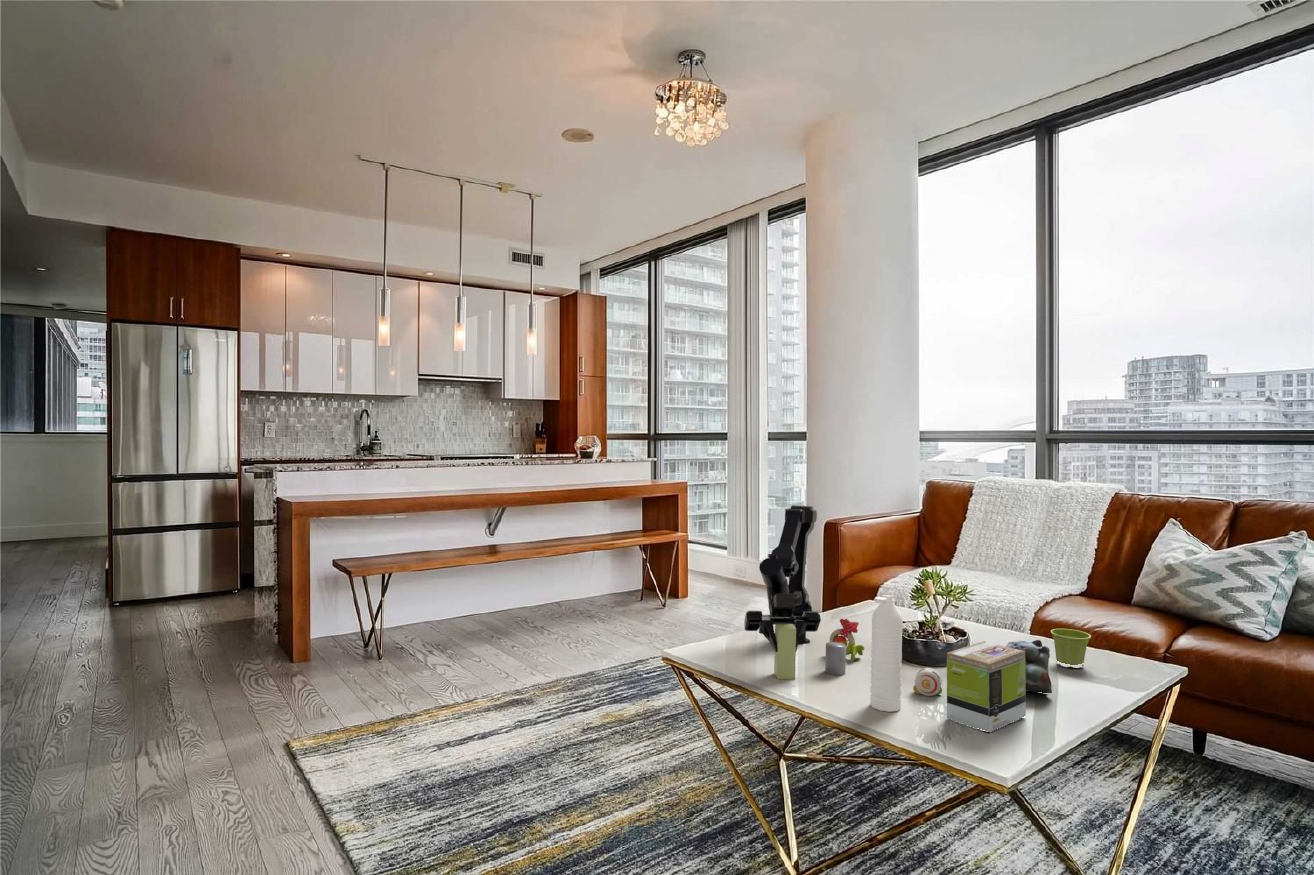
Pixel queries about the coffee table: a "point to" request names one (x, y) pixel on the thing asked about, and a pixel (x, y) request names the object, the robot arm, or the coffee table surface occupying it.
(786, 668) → the olive brick
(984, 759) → the coffee table surface
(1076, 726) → the coffee table surface
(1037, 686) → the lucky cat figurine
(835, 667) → the grey cylinder
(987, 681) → the tea box
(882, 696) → the water bottle
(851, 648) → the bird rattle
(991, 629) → the coffee table surface
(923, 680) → the roller toy
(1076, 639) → the plant pot
